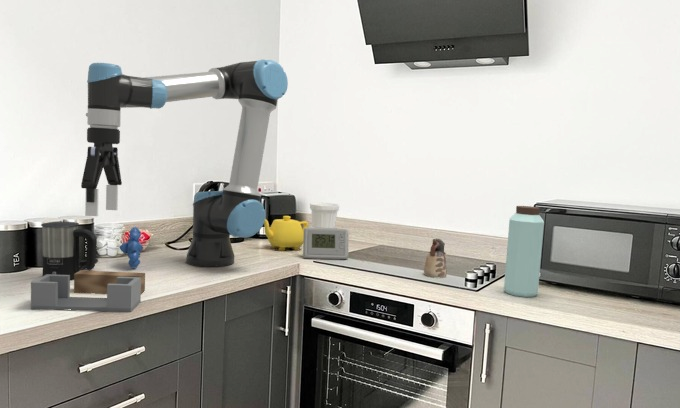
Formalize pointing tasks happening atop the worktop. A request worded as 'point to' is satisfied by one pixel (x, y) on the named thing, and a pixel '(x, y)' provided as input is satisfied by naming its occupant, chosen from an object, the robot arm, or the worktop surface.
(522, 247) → the water bottle
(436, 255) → the figurine
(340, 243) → the digital clock
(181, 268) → the worktop surface
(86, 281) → the slat
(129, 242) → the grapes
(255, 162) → the robot arm
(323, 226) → the cup
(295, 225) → the teapot
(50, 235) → the milk frother
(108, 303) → the rail
